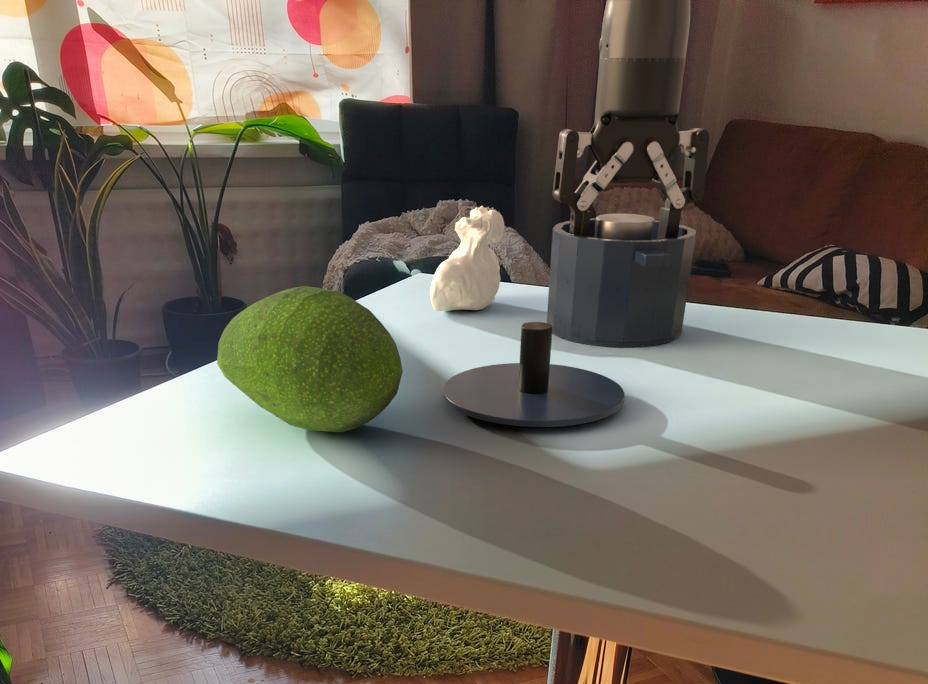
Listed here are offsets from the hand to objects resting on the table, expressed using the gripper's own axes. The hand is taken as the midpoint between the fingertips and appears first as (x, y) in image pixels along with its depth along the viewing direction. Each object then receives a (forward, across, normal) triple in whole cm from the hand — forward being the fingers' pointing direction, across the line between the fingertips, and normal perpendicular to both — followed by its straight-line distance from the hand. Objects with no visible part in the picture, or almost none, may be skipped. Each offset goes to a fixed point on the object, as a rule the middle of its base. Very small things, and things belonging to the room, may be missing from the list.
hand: (622, 250), depth 88 cm
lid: (+7, -14, -21) cm, 26 cm away
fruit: (+8, -32, -23) cm, 40 cm away
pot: (+8, 0, 0) cm, 8 cm away
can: (+7, 0, 0) cm, 7 cm away
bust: (+8, -13, +11) cm, 19 cm away
